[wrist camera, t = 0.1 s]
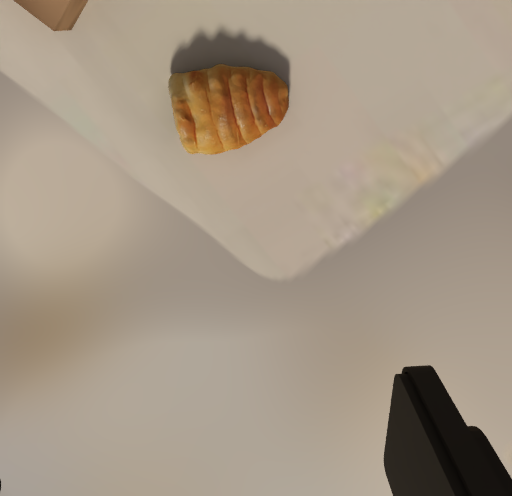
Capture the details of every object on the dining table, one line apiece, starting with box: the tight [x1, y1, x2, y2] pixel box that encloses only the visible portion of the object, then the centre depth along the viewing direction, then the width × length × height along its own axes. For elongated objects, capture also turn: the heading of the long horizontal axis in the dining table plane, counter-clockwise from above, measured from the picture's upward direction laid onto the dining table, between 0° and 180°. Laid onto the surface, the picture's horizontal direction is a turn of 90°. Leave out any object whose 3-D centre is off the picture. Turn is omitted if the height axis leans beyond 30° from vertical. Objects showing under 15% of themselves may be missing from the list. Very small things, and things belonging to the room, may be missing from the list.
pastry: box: [168, 64, 289, 154], centre depth 36 cm, size 9×7×4 cm
